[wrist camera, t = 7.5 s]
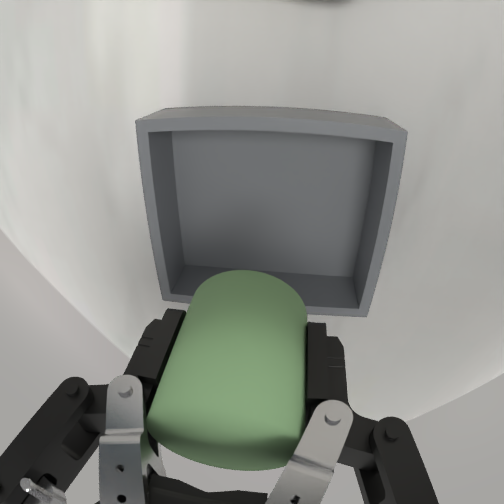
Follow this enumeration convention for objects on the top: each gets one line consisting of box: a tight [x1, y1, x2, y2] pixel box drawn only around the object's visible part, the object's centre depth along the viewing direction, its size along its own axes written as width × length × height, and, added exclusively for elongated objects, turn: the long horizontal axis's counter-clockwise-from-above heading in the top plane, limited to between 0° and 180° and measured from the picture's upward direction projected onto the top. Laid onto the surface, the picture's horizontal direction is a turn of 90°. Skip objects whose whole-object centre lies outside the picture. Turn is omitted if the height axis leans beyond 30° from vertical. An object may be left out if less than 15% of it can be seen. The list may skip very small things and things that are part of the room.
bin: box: [135, 106, 408, 317], centre depth 23 cm, size 16×14×5 cm
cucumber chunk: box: [146, 270, 307, 471], centre depth 11 cm, size 5×5×6 cm
